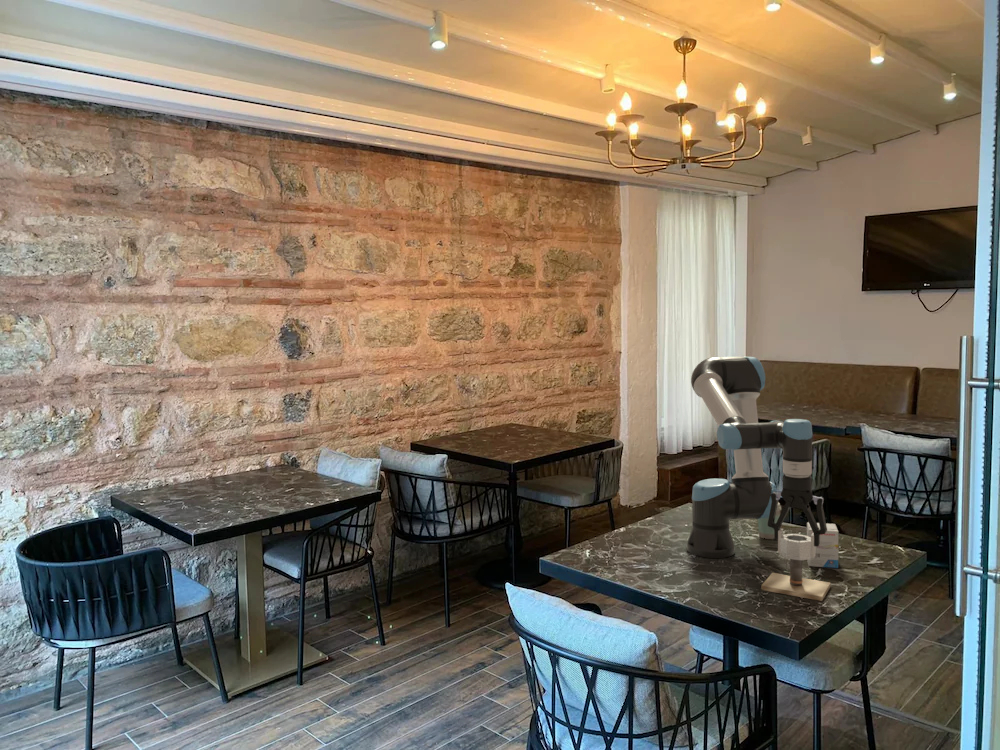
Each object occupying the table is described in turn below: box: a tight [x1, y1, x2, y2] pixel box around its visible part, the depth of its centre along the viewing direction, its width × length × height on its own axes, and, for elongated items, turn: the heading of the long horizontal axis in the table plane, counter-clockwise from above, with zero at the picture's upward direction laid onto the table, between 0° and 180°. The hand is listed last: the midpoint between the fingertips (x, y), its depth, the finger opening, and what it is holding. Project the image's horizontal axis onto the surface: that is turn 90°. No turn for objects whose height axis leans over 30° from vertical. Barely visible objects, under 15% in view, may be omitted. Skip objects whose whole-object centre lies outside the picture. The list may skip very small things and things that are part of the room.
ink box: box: [806, 522, 840, 569], centre depth 228 cm, size 9×8×12 cm
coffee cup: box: [756, 501, 782, 540], centre depth 255 cm, size 8×9×12 cm
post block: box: [760, 559, 832, 602], centre depth 208 cm, size 16×12×11 cm
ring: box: [779, 533, 811, 561], centre depth 207 cm, size 8×8×5 cm
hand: (796, 554), depth 207 cm, fingers closed on ring, 8 cm apart
